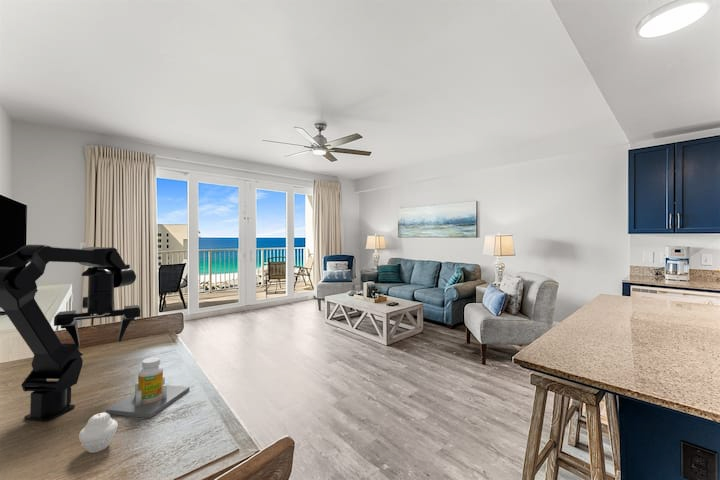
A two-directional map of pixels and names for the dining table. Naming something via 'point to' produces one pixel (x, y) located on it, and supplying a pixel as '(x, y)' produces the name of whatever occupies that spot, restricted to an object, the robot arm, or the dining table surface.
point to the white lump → (98, 432)
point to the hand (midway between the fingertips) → (99, 344)
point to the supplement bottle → (150, 379)
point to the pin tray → (147, 402)
